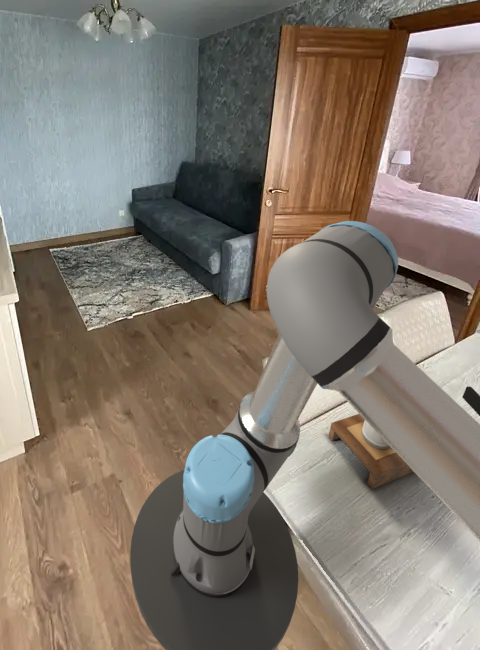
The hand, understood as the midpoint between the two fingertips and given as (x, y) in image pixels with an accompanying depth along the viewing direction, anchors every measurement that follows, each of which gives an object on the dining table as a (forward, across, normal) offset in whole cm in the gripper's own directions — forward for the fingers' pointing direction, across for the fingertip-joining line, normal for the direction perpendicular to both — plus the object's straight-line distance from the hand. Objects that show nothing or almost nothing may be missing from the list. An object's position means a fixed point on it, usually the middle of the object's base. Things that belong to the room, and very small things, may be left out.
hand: (429, 390), depth 66 cm
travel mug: (+10, 0, -25) cm, 27 cm away
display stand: (+10, 0, -30) cm, 32 cm away
